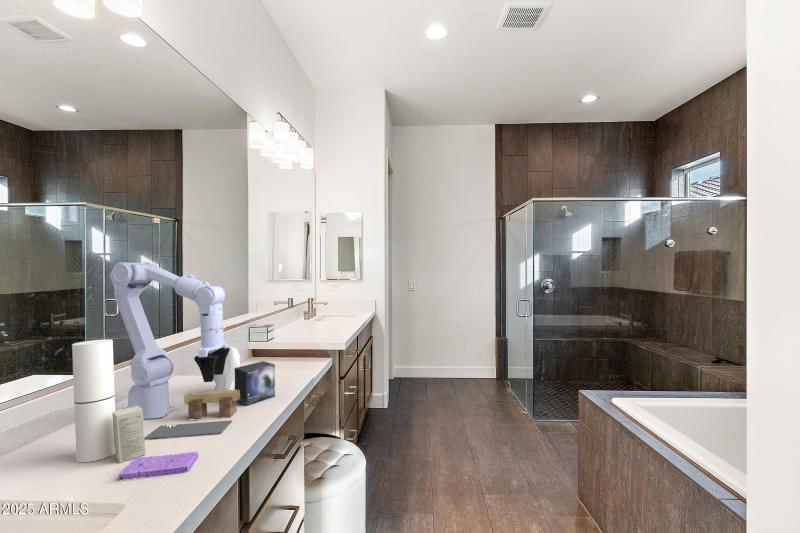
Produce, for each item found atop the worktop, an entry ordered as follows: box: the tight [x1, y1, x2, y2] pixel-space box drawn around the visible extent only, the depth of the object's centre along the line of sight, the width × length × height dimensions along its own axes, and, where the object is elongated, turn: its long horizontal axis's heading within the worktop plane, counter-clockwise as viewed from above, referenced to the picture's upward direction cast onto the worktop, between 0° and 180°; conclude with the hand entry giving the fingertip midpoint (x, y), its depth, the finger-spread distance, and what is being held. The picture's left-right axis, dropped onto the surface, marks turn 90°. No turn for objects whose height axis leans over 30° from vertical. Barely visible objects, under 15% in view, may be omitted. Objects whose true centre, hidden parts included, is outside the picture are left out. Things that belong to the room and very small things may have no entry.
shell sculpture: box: [213, 342, 241, 391], centre depth 135 cm, size 8×8×18 cm
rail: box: [183, 389, 240, 406], centre depth 111 cm, size 14×3×2 cm, turn 94°
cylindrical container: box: [71, 338, 116, 463], centre depth 89 cm, size 7×7×25 cm
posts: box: [187, 398, 238, 420], centre depth 111 cm, size 11×5×5 cm, turn 94°
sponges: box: [118, 451, 199, 481], centre depth 81 cm, size 7×13×2 cm, turn 100°
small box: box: [234, 360, 276, 407], centre depth 124 cm, size 11×6×10 cm, turn 145°
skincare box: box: [112, 406, 147, 464], centre depth 88 cm, size 5×4×10 cm
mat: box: [144, 420, 233, 441], centre depth 101 cm, size 18×8×1 cm, turn 94°
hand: (213, 378), depth 112 cm, fingers open, 7 cm apart
